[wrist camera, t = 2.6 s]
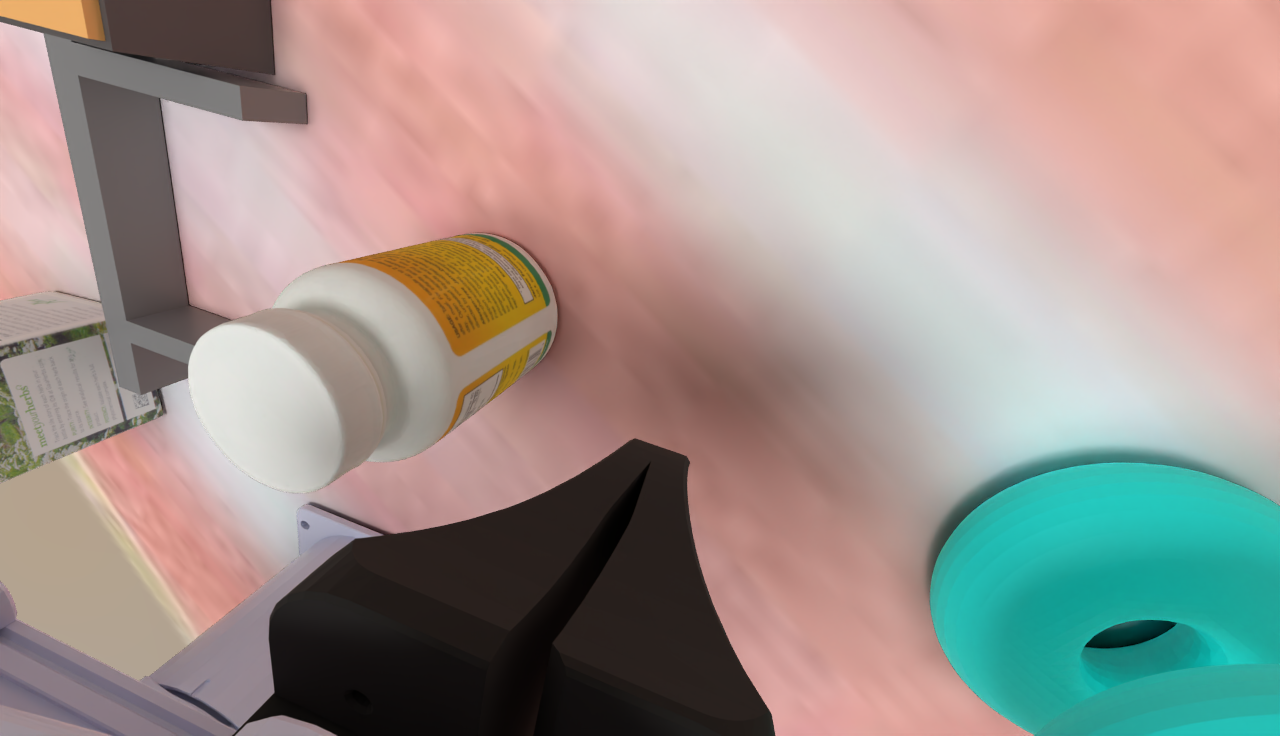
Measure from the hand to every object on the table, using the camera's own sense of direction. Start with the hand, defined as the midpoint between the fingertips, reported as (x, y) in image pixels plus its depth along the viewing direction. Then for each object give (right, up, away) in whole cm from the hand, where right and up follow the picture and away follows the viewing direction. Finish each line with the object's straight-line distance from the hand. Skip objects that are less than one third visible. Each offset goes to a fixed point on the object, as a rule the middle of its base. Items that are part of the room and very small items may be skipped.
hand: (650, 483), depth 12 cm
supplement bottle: (-6, +5, +8) cm, 11 cm away
